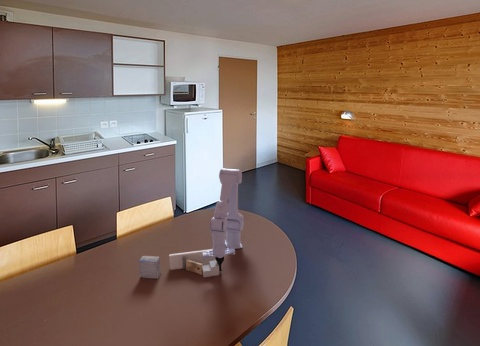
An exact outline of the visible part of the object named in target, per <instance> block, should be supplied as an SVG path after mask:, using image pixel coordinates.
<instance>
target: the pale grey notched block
mask: <svg viewBox="0 0 480 346" xmlns="http://www.w3.org/2000/svg"><path fill="white" fill-rule="evenodd" d="M202 266H203V268H202V269H203V274H202V276H203V278H209V277H215V276H219V275H220V271H219V265H218V263H217V261H216V259H215V260H214V261H209V264H207V265H202Z"/></svg>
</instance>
